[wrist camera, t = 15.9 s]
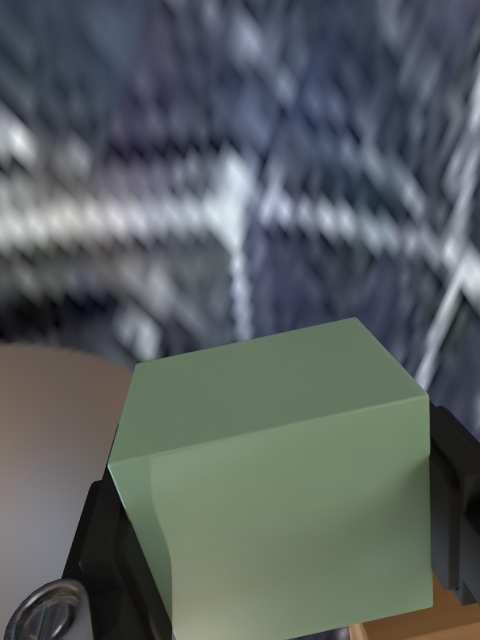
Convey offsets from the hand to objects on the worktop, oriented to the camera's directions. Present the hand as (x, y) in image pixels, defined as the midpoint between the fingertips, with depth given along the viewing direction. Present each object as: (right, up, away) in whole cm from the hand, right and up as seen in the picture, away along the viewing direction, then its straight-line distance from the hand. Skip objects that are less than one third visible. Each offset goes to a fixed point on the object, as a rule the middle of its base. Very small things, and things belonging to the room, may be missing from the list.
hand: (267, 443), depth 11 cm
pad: (0, 0, 0) cm, 1 cm away
